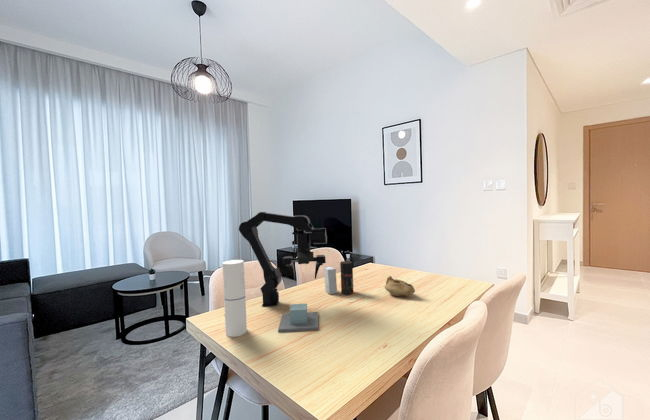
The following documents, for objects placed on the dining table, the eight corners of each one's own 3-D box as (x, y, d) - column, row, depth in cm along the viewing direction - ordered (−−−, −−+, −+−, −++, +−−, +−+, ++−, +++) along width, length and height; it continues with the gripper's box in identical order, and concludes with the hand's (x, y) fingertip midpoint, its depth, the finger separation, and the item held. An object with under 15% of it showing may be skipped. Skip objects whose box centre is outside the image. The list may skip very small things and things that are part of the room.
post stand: (278, 332, 100) (277, 319, 100) (282, 316, 114) (282, 304, 114) (318, 330, 100) (317, 317, 100) (317, 314, 114) (317, 302, 114)
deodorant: (352, 294, 136) (351, 263, 136) (340, 294, 138) (339, 263, 137) (354, 291, 142) (353, 261, 142) (342, 290, 143) (341, 261, 143)
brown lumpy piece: (411, 301, 125) (410, 283, 125) (380, 295, 134) (379, 278, 134) (420, 294, 133) (419, 277, 133) (390, 289, 143) (389, 273, 143)
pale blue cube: (290, 324, 104) (289, 310, 104) (291, 317, 110) (290, 304, 110) (307, 323, 104) (306, 309, 104) (307, 316, 110) (307, 303, 110)
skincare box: (337, 293, 139) (336, 268, 139) (328, 294, 138) (328, 269, 137) (332, 289, 145) (332, 266, 145) (324, 291, 144) (323, 267, 143)
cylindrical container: (227, 338, 96) (224, 265, 96) (224, 330, 103) (221, 261, 102) (248, 333, 100) (245, 262, 99) (244, 325, 106) (241, 259, 105)
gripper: (280, 247, 118) (281, 285, 118) (325, 246, 118) (326, 283, 119) (283, 243, 129) (284, 278, 129) (324, 242, 129) (325, 276, 130)
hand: (305, 279), depth 126 cm, fingers open, 9 cm apart
